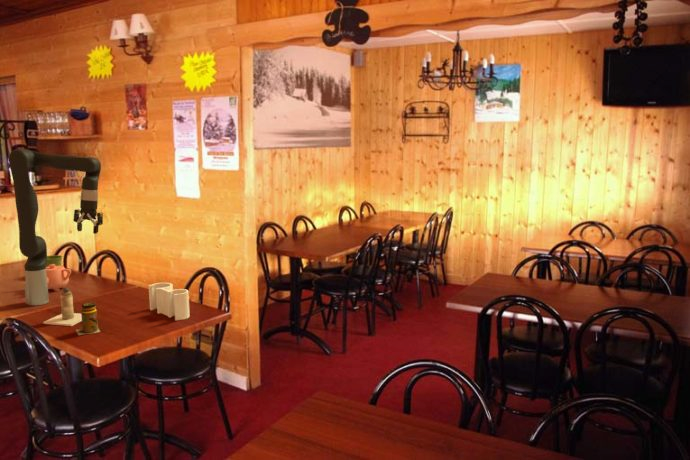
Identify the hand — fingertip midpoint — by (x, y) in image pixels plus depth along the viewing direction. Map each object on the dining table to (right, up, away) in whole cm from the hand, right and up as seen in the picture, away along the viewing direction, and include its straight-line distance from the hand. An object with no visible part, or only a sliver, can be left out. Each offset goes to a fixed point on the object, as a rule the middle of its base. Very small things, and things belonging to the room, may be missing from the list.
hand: (87, 232), depth 274 cm
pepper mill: (0, -39, -19) cm, 43 cm away
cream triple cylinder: (+43, -38, -7) cm, 58 cm away
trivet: (0, -39, -18) cm, 44 cm away
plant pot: (-47, -26, +58) cm, 79 cm away
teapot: (-33, -31, +30) cm, 55 cm away
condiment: (+15, -42, -33) cm, 55 cm away
